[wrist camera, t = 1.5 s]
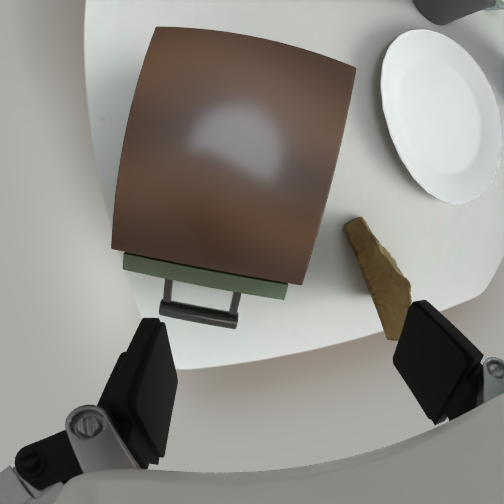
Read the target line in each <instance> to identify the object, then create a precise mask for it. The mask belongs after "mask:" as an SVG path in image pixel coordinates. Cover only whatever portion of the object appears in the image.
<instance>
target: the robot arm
mask: <svg viewBox="0 0 504 504" xmlns="http://www.w3.org/2000/svg"><path fill="white" fill-rule="evenodd" d="M483 356H484V355H483V354H482V353H481V352H480V351H479V350H478V349H477V348H476V347H475V346H474V345H473V344H472V343H471V342H470V341H469V340H468V339H467V338H466V337H465V336H464V335H463V334H462V333H461V332H460V331H459V330H458V329H457V328H456V327H455V326H454V325H453V324H452V323H451V322H450V321H449V320H447V319H446V318H445V317H444V316H443V315H442V314H441V313H440V312H439V311H438V310H437V309H435V308H434V307H433V306H432V305H431V304H430V303H429V302H428V301H426V300H421V301H415V302H413V303H412V304H411V306H410V307H409V308H408V311H407V315H406V318H405V322H404V325H403V328H402V332H401V335H400V338H399V341H398V344H397V347H396V350H395V353H394V356H393V363H394V366H395V367H396V369H397V370H398V372H399V373H400V375H401V376H402V378H403V379H404V381H405V382H406V384H407V385H408V387H409V388H410V390H411V391H412V393H413V395H414V396H415V398H416V399H417V401H418V403H419V404H420V405H421V407H422V409H423V411H424V412H425V414H426V415H427V417H428V418H429V419H431V420H432V421H433V423H434V424H435V425H436V424H439V423H441V422H443V421H445V420H446V418H447V417H448V418H449V422H447V423H445V424H443V425H441V426H439V427H436V428H434V429H432V430H429V431H427V432H425V433H422V434H420V435H418V436H415V437H412V438H410V439H407V440H404V441H402V442H399V443H396V444H393V445H390V446H387V447H384V448H381V449H378V450H375V451H371V452H367V453H364V454H360V455H356V456H353V457H349V458H344V459H340V460H336V461H331V462H326V463H320V464H315V465H309V466H303V467H297V468H289V469H280V470H271V471H257V472H235V473H199V472H181V471H162V470H146V469H148V466H149V464H157V465H158V462H159V457H164V455H165V450H166V444H167V438H168V432H169V427H170V421H171V415H172V409H173V405H174V399H175V395H176V389H177V384H178V379H177V373H176V369H175V365H174V361H173V357H172V353H171V348H170V344H169V339H168V335H167V330H166V325H165V323H164V322H160V320H159V318H143V319H142V320H141V322H140V324H139V326H138V328H137V331H136V333H135V335H134V337H133V339H132V341H131V343H130V345H129V347H128V349H127V351H126V352H123V353H121V355H120V356H119V358H118V360H117V363H116V365H115V367H114V369H113V371H112V373H111V375H110V378H109V380H108V382H107V384H106V386H105V389H104V391H103V393H102V395H101V398H100V400H99V402H98V405H97V406H95V405H83V406H79V407H78V408H76V409H74V410H73V411H72V412H71V413H70V414H69V415H68V417H67V419H66V423H65V427H66V430H64V431H62V432H59V433H57V434H55V435H52V436H50V437H48V438H45V439H43V440H40V441H38V442H35V443H32V444H30V445H27V446H25V447H24V448H22V449H21V450H20V451H19V452H18V453H17V455H16V457H15V467H14V468H12V467H11V466H9V467H7V468H6V469H5V470H3V471H2V472H1V473H0V504H504V361H503V360H501V359H499V358H496V357H490V358H487V359H486V360H485V361H484V363H483V365H482V364H481V363H480V362H481V360H482V358H483Z"/></svg>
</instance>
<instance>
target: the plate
mask: <svg viewBox="0 0 504 504" xmlns="http://www.w3.org/2000/svg"><path fill="white" fill-rule="evenodd" d="M380 89H381V98H382V108H383V113H384V116H385V119H386V123H387V127H388V130H389V134H390V137H391V139H392V141H393V143H394V145H395V148H396V150H397V152H398V155H399V157H400V159H401V161H402V162H403V163H404V165H405V166H406V168H407V170H408V171H409V173H410V174H411V176H412V177H413V179H414V180H415V181H416V182H417V183H418V184H419V185H420V186H421V187H422V188H423V189H424V190H425V191H426V192H427V193H429V194H430V195H432V196H434V197H435V198H437V199H439V200H440V201H442V202H446V203H451V204H456V205H458V204H463V203H469V202H471V201H473V200H474V199H476V198H477V197H479V196H481V195H482V194H483V192H484V191H485V190H486V189H487V188H488V187H489V186H490V184H491V182H492V180H493V178H494V176H495V174H496V172H497V169H498V165H499V161H500V157H501V150H502V126H501V118H500V114H499V109H498V105H497V101H496V99H495V96H494V93H493V91H492V88H491V86H490V84H489V82H488V80H487V78H486V77H485V75H484V73H483V71H482V70H481V68H480V67H479V65H478V64H477V63H476V62H475V60H474V59H473V58H472V57H471V56H470V54H469V53H468V52H467V51H465V50H464V49H463V48H462V47H461V46H460V45H459V44H457V43H456V42H455V41H453V40H452V39H450V38H448V37H446V36H445V35H443V34H441V33H438V32H435V31H431V30H427V29H414V30H409V31H407V32H405V33H403V34H400V35H398V37H397V38H396V39H395V40H394V41H393V42H392V43H391V44H390V46H389V47H388V49H387V52H386V55H385V57H384V60H383V63H382V70H381V80H380Z"/></svg>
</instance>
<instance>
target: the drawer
mask: <svg viewBox="0 0 504 504" xmlns="http://www.w3.org/2000/svg"><path fill="white" fill-rule="evenodd" d="M123 269H124V270H129V271H133V272H138V273H142V274H147V275H151V276H156V277H161V278H165V286H164V297H163V299H162V300H161V303H160V308H159V314H160V315H162V316H167V317H172V318H176V319H181V320H186V321H192V322H197V323H202V324H208V325H213V326H219V327H225V328H231V329H236V327H237V323H238V313H237V310H238V305H239V301H240V297H241V293H245V294H250V295H256V296H262V297H268V298H275V299H281V300H284V298H285V295H286V292H287V288H288V283H285V282H280V281H274V280H268V279H263V278H257V277H251V276H246V275H240V274H235V273H230V272H224V271H219V270H214V269H208V268H203V267H198V266H193V265H188V264H183V263H178V262H173V261H168V260H163V259H158V258H153V257H148V256H143V255H138V254H134V253H129V252H125V253H124V256H123ZM173 280H175V281H180V282H185V283H190V284H196V285H201V286H206V287H211V288H217V289H222V290H228V291H233V295H232V300H231V304H230V309H229V311H224V310H218V309H212V308H207V307H201V306H196V305H191V304H186V303H181V302H176V301H171V297H172V288H173Z"/></svg>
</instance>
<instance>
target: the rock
mask: <svg viewBox="0 0 504 504" xmlns="http://www.w3.org/2000/svg"><path fill="white" fill-rule="evenodd" d="M343 230H344V232H345V234H346V236H347V240H348V242H349V244H350V246H351V248H352V251H353V253H354V255H355V257H356V260H357V262H358V265H359V267H360V269H361V271H362V273H363V277H364V279H365V281H366V284H367V286H368V290H369V293H370V295H371V297H372V299H373V302H374V304H375V307H376V309H377V312H378V315H379V318H380V320H381V323H382V326H383V329H384V332H385V335H386V338H387V340H395V341H397V340H399V338H400V335H401V332H402V328H403V325H404V322H405V318H406V315H407V311H408V308H409V307H410V306H411V302H412V300H411V294H410V292H411V285H410V283H409V281H408V280H407V278H404V276H403V274H402V272H401V271H400V270H399V268H398V267H397V264H396V262H395V260H394V259H393V258H392V257H391V256H390V254H389V252H387V251H386V249H385V248H384V247H382V246H381V245H380V243H379V241H378V240H377V239H376V237H375V236H374V235H373V234H372V232H371V230H370V229H369V227H368V225H367V223H366V221H365V220H364V219H363V218H362V217H359V218H357V219H355V220H354V221H352V222H350V223H348V224H346V225H345V226H344V227H343Z"/></svg>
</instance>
